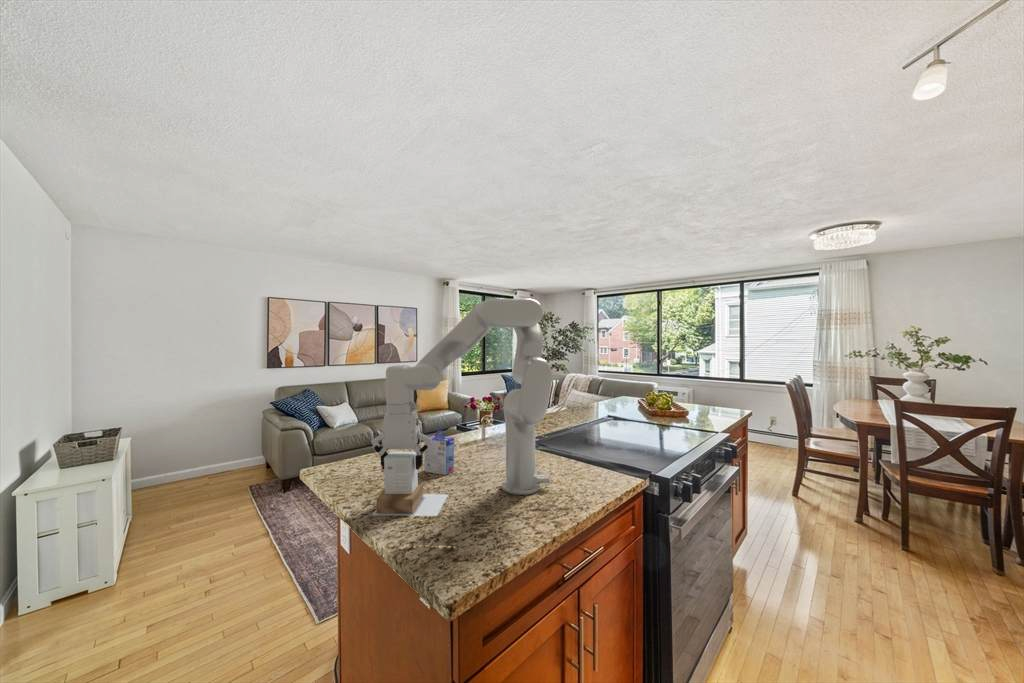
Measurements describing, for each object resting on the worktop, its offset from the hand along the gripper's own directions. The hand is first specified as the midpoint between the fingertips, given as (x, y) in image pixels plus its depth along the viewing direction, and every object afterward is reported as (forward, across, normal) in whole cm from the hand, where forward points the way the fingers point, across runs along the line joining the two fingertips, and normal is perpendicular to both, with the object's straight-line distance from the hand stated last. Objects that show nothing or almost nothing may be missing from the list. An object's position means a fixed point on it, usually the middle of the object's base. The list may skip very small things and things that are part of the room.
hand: (402, 468), depth 107 cm
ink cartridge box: (+12, -4, -29) cm, 31 cm away
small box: (+7, 0, 0) cm, 7 cm away
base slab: (+11, 0, 0) cm, 11 cm away
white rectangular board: (+11, -2, -1) cm, 11 cm away
